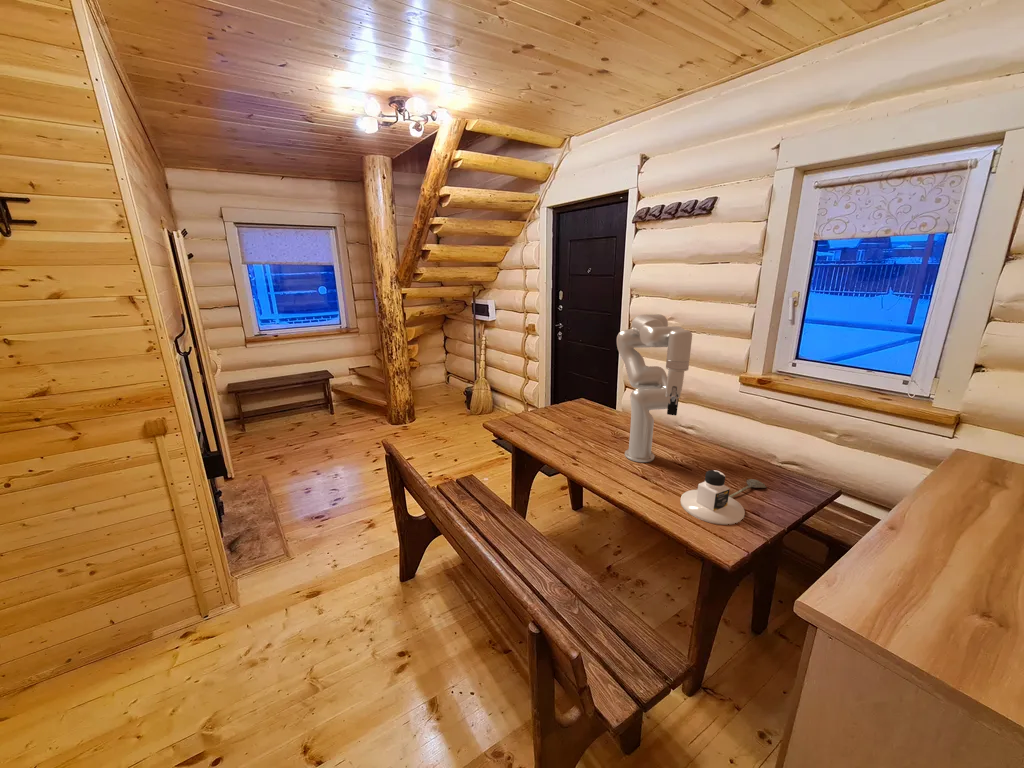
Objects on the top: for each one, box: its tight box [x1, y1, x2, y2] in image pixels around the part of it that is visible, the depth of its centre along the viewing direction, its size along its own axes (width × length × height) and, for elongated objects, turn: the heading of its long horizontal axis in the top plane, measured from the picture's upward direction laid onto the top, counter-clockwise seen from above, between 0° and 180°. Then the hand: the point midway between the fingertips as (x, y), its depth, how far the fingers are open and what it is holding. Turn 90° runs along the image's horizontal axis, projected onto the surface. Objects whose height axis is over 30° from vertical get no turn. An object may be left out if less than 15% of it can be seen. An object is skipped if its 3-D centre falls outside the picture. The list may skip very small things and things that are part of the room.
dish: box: [680, 489, 746, 526], centre depth 140 cm, size 20×20×1 cm
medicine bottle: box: [696, 469, 730, 511], centre depth 139 cm, size 7×7×12 cm
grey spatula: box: [729, 478, 767, 498], centre depth 151 cm, size 22×3×7 cm
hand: (672, 410), depth 147 cm, fingers open, 9 cm apart
